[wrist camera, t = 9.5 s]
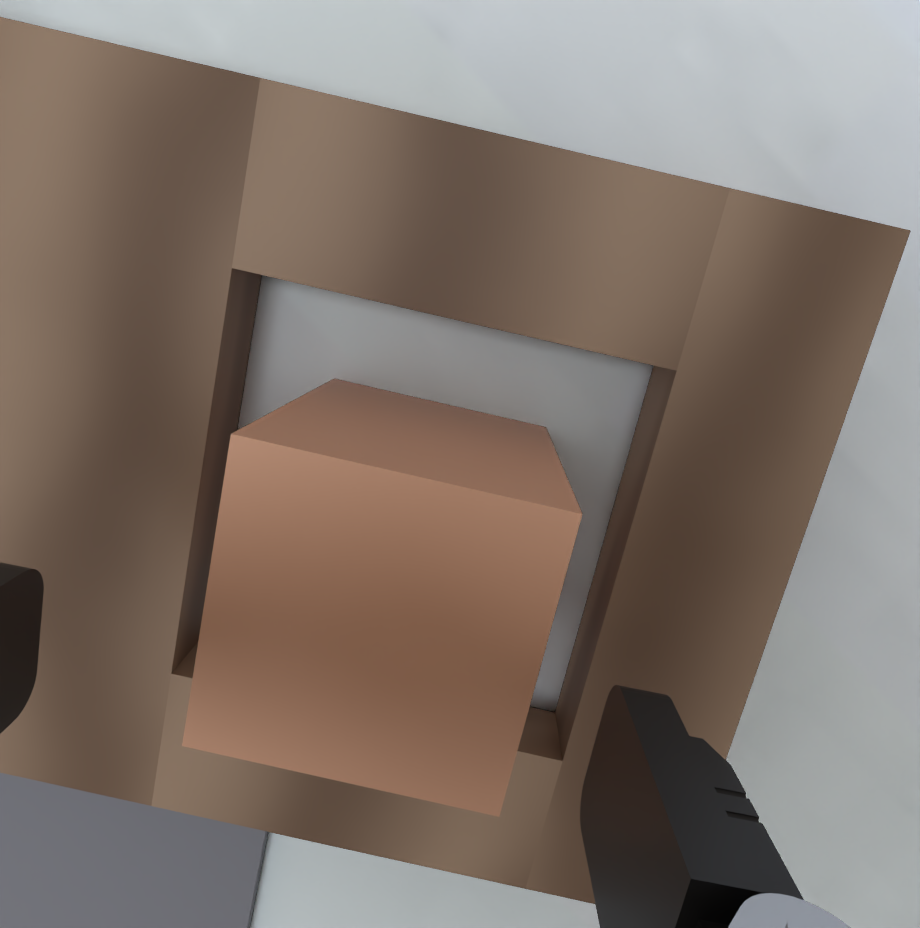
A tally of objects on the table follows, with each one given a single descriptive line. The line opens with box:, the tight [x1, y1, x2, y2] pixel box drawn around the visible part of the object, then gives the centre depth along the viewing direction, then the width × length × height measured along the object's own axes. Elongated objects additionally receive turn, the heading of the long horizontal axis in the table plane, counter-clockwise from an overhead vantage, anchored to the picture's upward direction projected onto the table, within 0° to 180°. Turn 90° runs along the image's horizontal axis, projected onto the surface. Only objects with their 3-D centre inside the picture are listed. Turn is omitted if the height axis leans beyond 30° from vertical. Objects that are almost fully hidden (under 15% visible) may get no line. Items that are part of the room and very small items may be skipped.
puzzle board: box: [0, 17, 910, 904], centre depth 17 cm, size 28×16×2 cm, turn 77°
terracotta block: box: [182, 379, 582, 817], centre depth 14 cm, size 5×5×7 cm
